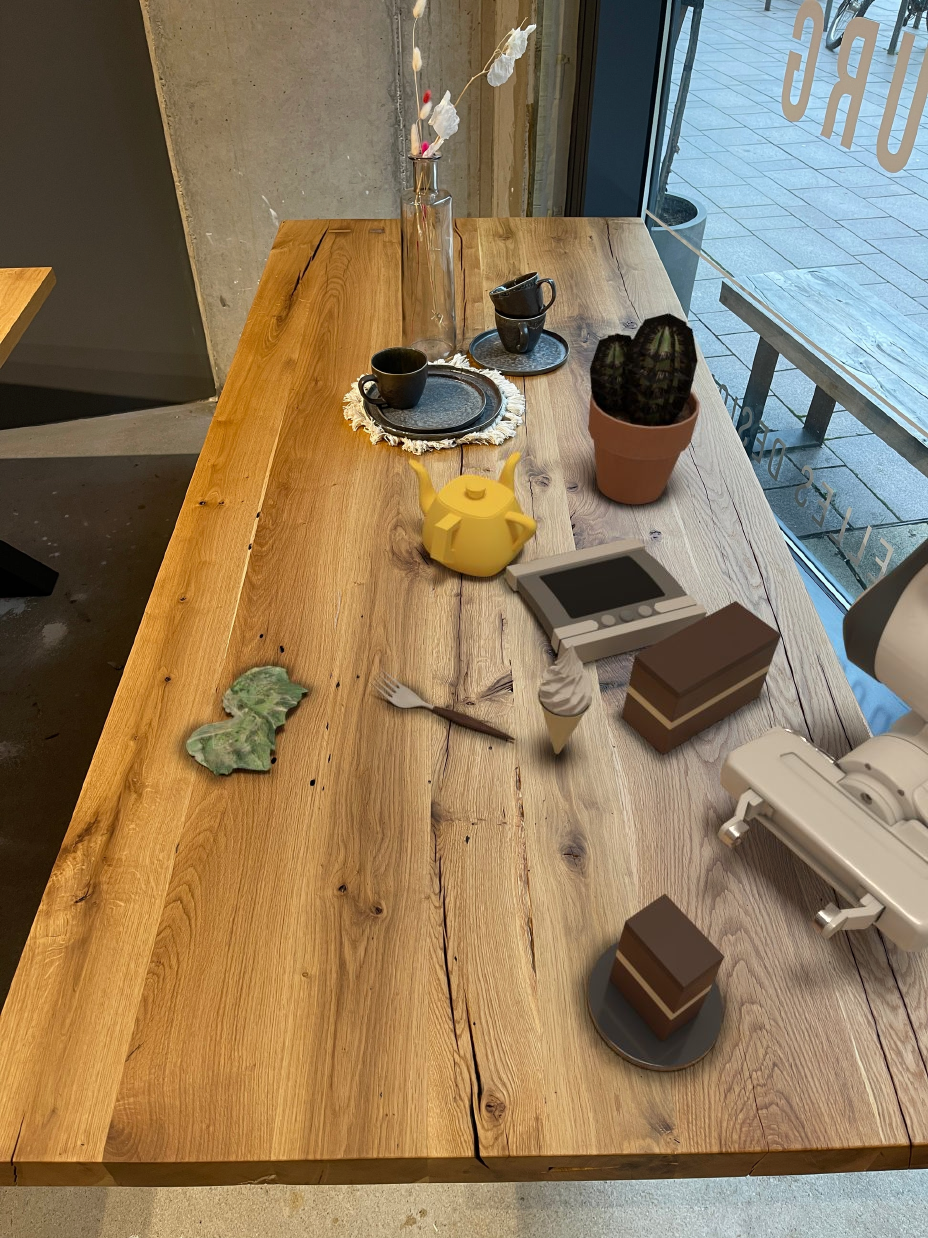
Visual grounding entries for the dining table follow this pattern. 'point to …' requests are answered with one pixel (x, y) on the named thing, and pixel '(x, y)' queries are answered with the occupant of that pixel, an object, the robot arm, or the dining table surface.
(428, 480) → the teapot
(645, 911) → the cake slice
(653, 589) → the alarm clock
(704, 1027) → the plate
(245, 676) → the lettuce leaf
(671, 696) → the cake loaf
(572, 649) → the ice cream cone
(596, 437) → the potted plant
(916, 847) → the robot arm
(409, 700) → the fork
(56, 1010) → the dining table surface
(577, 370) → the dining table surface
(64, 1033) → the dining table surface
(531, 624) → the dining table surface
